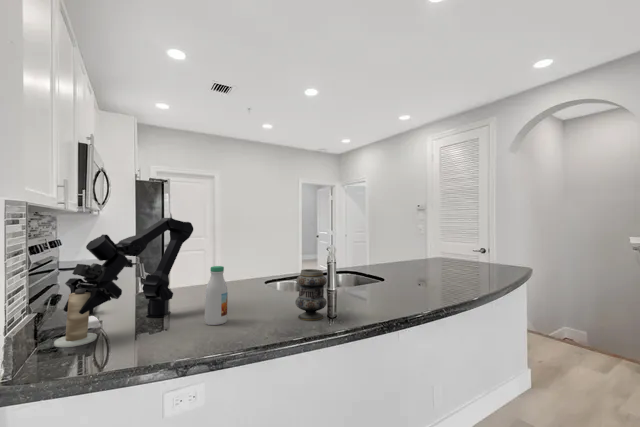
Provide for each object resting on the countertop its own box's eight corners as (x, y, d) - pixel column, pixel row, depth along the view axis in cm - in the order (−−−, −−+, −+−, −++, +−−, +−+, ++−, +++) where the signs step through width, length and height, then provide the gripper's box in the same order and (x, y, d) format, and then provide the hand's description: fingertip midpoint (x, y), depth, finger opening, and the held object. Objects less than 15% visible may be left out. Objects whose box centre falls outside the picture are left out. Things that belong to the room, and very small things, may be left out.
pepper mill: (91, 336, 95) (94, 289, 96) (71, 341, 90) (75, 291, 91) (81, 334, 97) (84, 287, 98) (61, 339, 92) (65, 290, 94)
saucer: (104, 335, 99) (104, 332, 99) (79, 347, 89) (79, 344, 89) (72, 335, 99) (72, 332, 99) (44, 347, 89) (44, 344, 89)
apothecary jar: (332, 317, 121) (333, 270, 122) (311, 324, 112) (311, 273, 113) (310, 311, 130) (311, 267, 130) (288, 317, 121) (289, 270, 122)
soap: (72, 326, 108) (72, 317, 108) (96, 322, 113) (96, 314, 113) (77, 332, 102) (77, 323, 102) (102, 327, 107) (102, 319, 107)
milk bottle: (214, 327, 108) (215, 268, 109) (199, 323, 112) (201, 266, 113) (231, 321, 114) (232, 266, 115) (217, 318, 119) (218, 264, 119)
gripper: (73, 252, 102) (30, 294, 91) (114, 255, 95) (73, 299, 84) (96, 273, 109) (59, 314, 98) (136, 277, 102) (101, 321, 91)
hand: (72, 312), depth 93 cm, fingers open, 7 cm apart
